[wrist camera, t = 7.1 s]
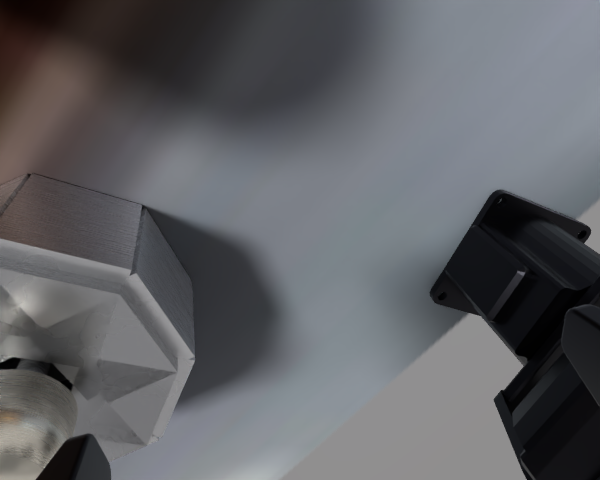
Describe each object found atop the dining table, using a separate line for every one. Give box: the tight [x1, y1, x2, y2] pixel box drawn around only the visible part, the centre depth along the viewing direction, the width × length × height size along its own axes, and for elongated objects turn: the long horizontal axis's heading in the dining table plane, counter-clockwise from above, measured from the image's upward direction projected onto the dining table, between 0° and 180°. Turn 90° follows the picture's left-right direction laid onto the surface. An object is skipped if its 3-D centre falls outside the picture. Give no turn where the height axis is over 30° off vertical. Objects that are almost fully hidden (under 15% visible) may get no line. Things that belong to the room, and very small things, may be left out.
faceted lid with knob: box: [0, 173, 195, 462], centre depth 19 cm, size 10×13×6 cm
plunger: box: [0, 357, 78, 480], centre depth 17 cm, size 8×8×9 cm
